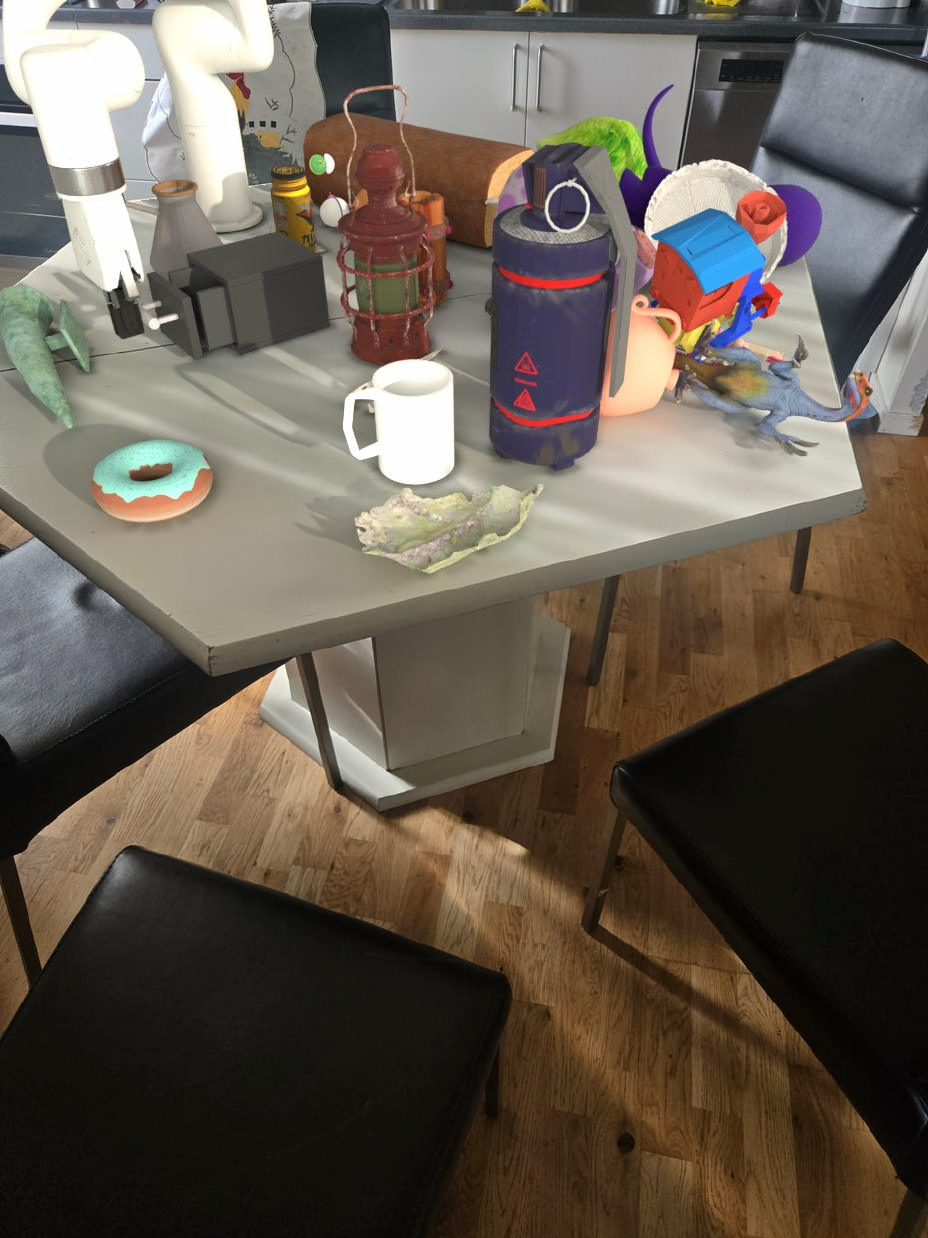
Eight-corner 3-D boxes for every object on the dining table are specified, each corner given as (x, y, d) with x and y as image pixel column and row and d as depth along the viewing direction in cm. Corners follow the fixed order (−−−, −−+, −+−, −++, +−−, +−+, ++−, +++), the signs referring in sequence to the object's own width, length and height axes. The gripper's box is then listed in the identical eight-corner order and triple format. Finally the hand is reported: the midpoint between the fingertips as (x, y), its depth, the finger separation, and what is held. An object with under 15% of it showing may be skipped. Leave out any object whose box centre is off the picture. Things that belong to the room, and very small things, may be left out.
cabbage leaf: (548, 558, 88) (426, 541, 96) (550, 481, 86) (425, 470, 94) (459, 591, 76) (327, 568, 84) (459, 501, 74) (323, 487, 82)
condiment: (326, 251, 142) (317, 170, 134) (277, 262, 139) (265, 180, 131) (306, 237, 147) (296, 158, 139) (258, 248, 143) (245, 167, 135)
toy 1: (329, 153, 149) (345, 145, 142) (348, 229, 154) (365, 225, 147) (298, 159, 147) (313, 152, 141) (318, 236, 152) (334, 233, 146)
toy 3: (602, 222, 132) (811, 252, 123) (643, 49, 127) (863, 68, 119) (624, 258, 151) (806, 286, 143) (660, 110, 147) (850, 130, 138)
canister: (471, 459, 97) (472, 160, 77) (512, 409, 105) (522, 126, 85) (593, 488, 93) (628, 180, 73) (625, 433, 101) (665, 142, 81)
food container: (667, 312, 123) (655, 331, 130) (805, 275, 123) (786, 296, 130) (627, 175, 123) (617, 200, 130) (764, 139, 124) (747, 166, 131)
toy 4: (798, 334, 107) (682, 286, 108) (785, 368, 105) (667, 319, 106) (772, 372, 114) (664, 327, 115) (760, 405, 112) (649, 359, 113)
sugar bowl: (570, 425, 100) (657, 451, 101) (615, 304, 91) (709, 334, 92) (574, 381, 110) (653, 406, 110) (615, 269, 101) (700, 296, 102)
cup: (334, 464, 97) (324, 379, 90) (433, 435, 101) (430, 352, 94) (365, 502, 92) (357, 415, 85) (468, 471, 96) (467, 385, 89)
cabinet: (240, 354, 116) (227, 281, 110) (200, 324, 123) (185, 253, 116) (330, 326, 122) (322, 255, 116) (287, 299, 129) (277, 230, 122)
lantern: (367, 376, 111) (345, 105, 91) (330, 338, 119) (301, 80, 99) (453, 354, 115) (450, 90, 95) (412, 319, 123) (401, 68, 103)
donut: (212, 525, 89) (204, 492, 86) (87, 534, 87) (75, 500, 85) (219, 461, 97) (213, 429, 95) (106, 468, 96) (96, 436, 93)
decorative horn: (60, 401, 97) (63, 268, 116) (-37, 431, 97) (-18, 292, 116) (91, 449, 103) (89, 314, 122) (-1, 477, 102) (12, 338, 121)
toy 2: (626, 137, 130) (540, 81, 104) (709, 269, 128) (643, 245, 103) (537, 219, 139) (438, 186, 114) (613, 343, 138) (531, 338, 112)
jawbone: (377, 415, 104) (376, 399, 103) (345, 405, 106) (343, 390, 105) (456, 363, 116) (456, 348, 115) (426, 356, 118) (425, 341, 117)
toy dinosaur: (759, 324, 87) (922, 378, 93) (682, 284, 106) (821, 332, 111) (710, 433, 92) (866, 479, 98) (644, 377, 111) (779, 418, 116)
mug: (462, 294, 130) (461, 184, 120) (443, 317, 124) (441, 203, 114) (370, 282, 133) (361, 174, 123) (347, 303, 128) (336, 192, 118)
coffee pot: (222, 257, 141) (203, 154, 130) (239, 284, 133) (220, 176, 123) (81, 280, 134) (50, 172, 124) (91, 309, 127) (58, 197, 116)
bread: (362, 183, 167) (356, 102, 158) (538, 225, 150) (542, 137, 141) (305, 205, 158) (295, 121, 149) (485, 253, 141) (487, 161, 132)
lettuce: (533, 80, 145) (499, 178, 151) (652, 118, 136) (611, 221, 142) (571, 109, 157) (538, 199, 163) (683, 145, 149) (644, 239, 154)
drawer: (166, 368, 111) (151, 308, 106) (132, 339, 117) (116, 280, 112) (281, 332, 119) (272, 274, 113) (244, 307, 125) (234, 250, 119)
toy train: (630, 318, 107) (653, 214, 93) (737, 267, 110) (774, 158, 96) (682, 376, 103) (713, 276, 89) (790, 321, 106) (837, 217, 93)
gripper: (31, 167, 102) (79, 322, 114) (79, 201, 93) (125, 364, 105) (96, 155, 105) (135, 306, 118) (148, 186, 96) (184, 347, 109)
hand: (130, 333), depth 111 cm, fingers closed
